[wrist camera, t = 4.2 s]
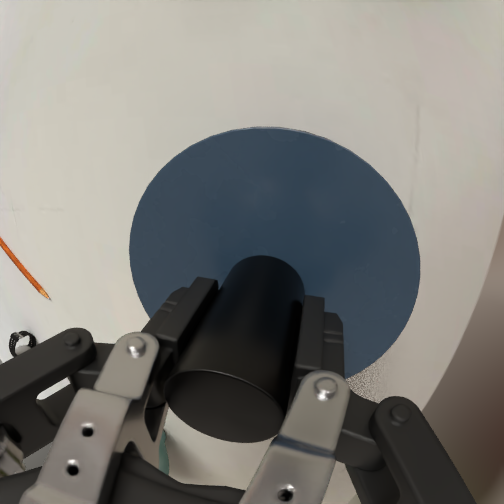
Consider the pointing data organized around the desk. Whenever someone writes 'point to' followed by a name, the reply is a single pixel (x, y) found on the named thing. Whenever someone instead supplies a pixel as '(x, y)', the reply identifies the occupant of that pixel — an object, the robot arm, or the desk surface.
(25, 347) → the smartwatch
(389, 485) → the robot arm
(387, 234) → the lid
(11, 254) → the pencil
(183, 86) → the desk surface
